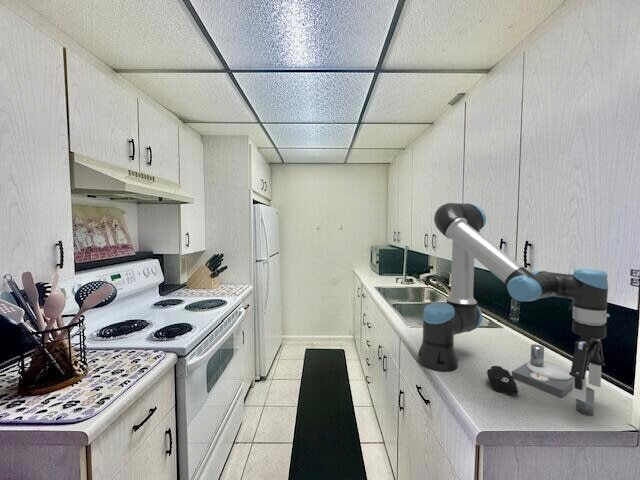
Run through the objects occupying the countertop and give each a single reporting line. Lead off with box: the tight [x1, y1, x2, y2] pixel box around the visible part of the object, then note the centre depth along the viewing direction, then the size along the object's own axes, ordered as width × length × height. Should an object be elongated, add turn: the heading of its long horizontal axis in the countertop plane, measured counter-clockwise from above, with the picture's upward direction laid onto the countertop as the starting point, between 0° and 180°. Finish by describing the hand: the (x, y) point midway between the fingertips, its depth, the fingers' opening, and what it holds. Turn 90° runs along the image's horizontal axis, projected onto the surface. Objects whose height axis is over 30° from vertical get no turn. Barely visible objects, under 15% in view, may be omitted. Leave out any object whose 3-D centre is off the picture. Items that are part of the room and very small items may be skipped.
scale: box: [511, 360, 573, 399], centre depth 108 cm, size 18×15×4 cm
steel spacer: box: [575, 386, 595, 417], centre depth 90 cm, size 4×4×7 cm
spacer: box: [529, 343, 545, 367], centre depth 112 cm, size 4×4×7 cm
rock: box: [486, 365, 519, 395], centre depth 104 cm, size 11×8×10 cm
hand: (587, 392), depth 89 cm, fingers open, 13 cm apart
